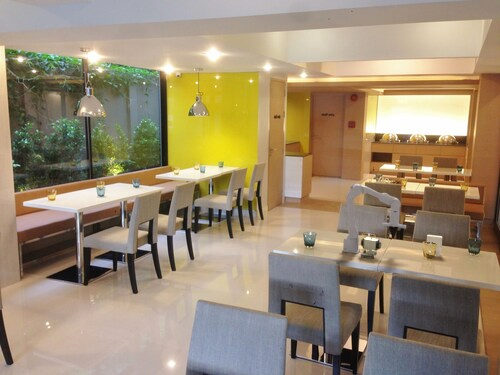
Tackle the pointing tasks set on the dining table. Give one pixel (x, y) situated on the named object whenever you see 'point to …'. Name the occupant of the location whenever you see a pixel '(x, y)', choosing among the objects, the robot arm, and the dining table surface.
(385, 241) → the dining table surface
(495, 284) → the dining table surface
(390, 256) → the dining table surface
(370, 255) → the guide rails
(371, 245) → the pneumatic valve
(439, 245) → the base with upright slab
